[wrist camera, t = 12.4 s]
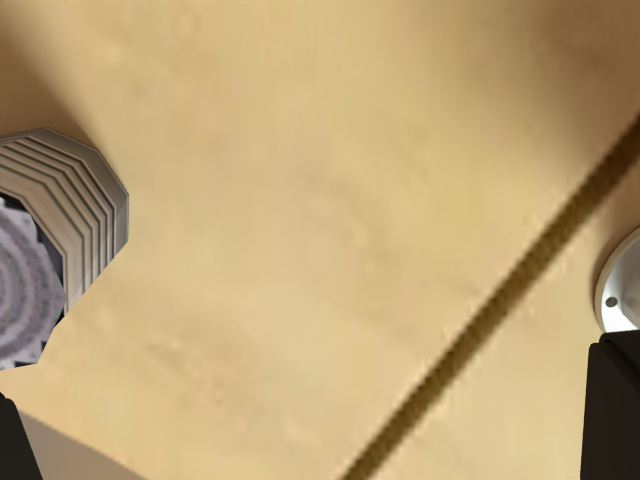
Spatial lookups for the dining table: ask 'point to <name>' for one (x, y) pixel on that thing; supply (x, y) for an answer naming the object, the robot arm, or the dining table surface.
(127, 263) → the dining table surface
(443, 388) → the dining table surface
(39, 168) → the can
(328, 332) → the dining table surface
